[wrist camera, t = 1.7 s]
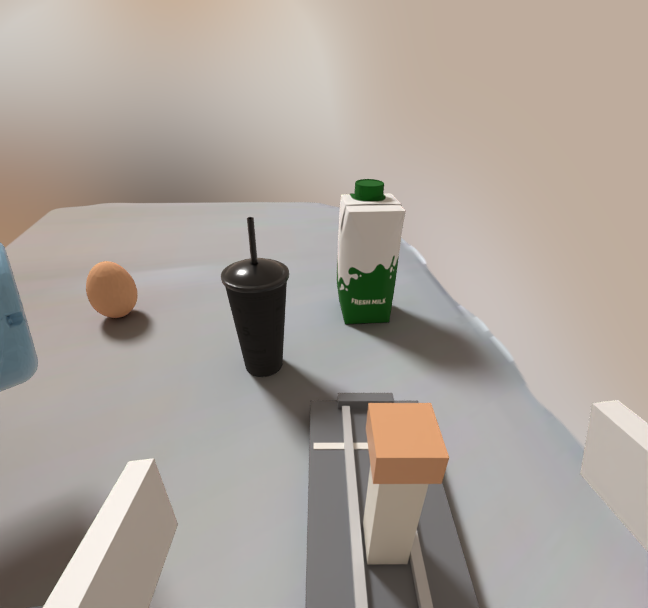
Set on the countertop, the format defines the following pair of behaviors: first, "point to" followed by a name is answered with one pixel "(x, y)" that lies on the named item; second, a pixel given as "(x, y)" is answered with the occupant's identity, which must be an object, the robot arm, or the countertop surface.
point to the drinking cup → (258, 308)
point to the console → (348, 533)
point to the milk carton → (368, 252)
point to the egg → (111, 290)
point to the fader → (399, 476)
